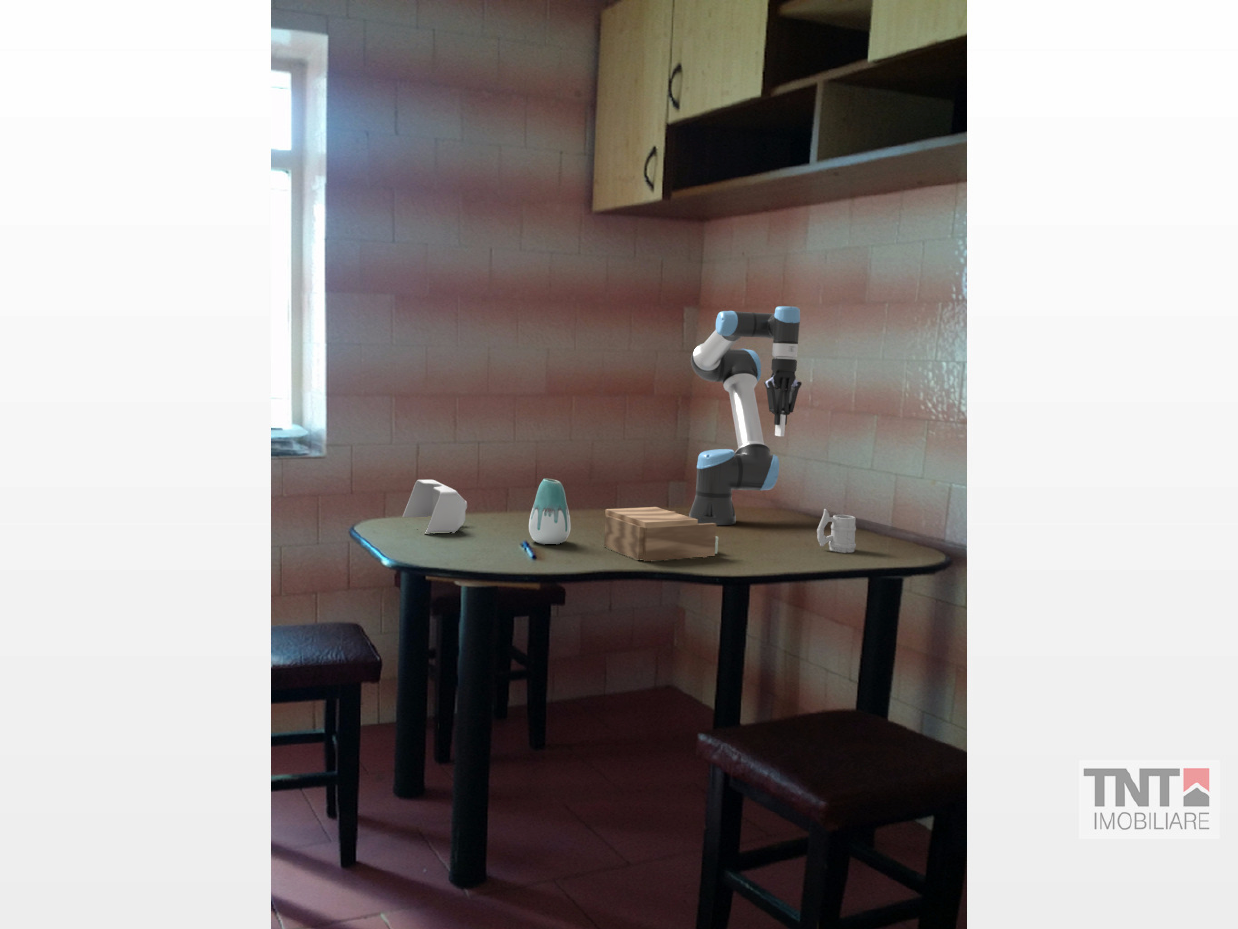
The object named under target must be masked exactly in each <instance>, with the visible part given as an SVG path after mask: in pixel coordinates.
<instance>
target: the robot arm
mask: <svg viewBox="0 0 1238 929" xmlns="http://www.w3.org/2000/svg"><path fill="white" fill-rule="evenodd" d="M800 323H801V310H800V308H799V307H798V306H785V305H784V306H776V308H775V310H774V313H773V312H772V313H771V312H769V313H768V312H747V311H735V310H723V311H720V312H718V314H717V317H716V319H715V330H714V331H713V332H712V333H711V335H710V336H708V338H707V339H706V340H705V341H704V343H701V344H698V345H697V346H696V347H695V349H694V350H693V352H692V353H691V357H690V365H691V367H692V370H693V371H694V373H695V375H697V376H699V378H700V379H702V380H705V381H708V382H712V383H713V382H715V383H717V382H718V383H722V384H723V385H722V386H723V389H724V390H725V391H726V392H728V395H729V401H730V406H731V413H732V418H733V423H734V430H735V436H736V443H737V449H736V450H735V451H734V449H730V448H729V449H728V448H724V449H723V448H720V449H718V448H715V449H710V450H704V451H702V452H700V453H699V455H698V457H697V463H696V464H697V465H696V482H695V483H696V486H695V497H694V500H693V503H692V504H691V505H692V506H691V508H690V510H689V513H688V517H691V518H694V519H698V524H704V523H715V524H717V525H716V526H729V525H734V524H736V521H737V519H736V518H737V516H736V511H735V508H734V504H733V501H732V499H733V498H732V496H733V495H732V494H733V491H759V492H761V491H769V490H772V489H773V488H774V487H775V485H776V484H777V481H778V478H779V473H780V459H779V456H777V455H776V454H771V449H770V447H769V445H767V444H765V442H764V437H763V430H762V425H761V419H760V415H759V414H760V413H759V409H758V404H757V398H756V392H755V388H756V386H757V385H758V382H759V381H760V380H761V375H762V370H761V369H762V363H761V358H760V357H759V355H758V354H757V352H756V351H755V350H753V349H746V348H732V347H733V346H734V345H735V343H737V342H738V340H739V339H740V338H742V337H744V338H745V337H746V338H767V339H772V340H773V341H772V350H771V351H772V353H771V356H772V357H773V358H772V359H771V372H772V373H771V375H770V378H769V379H768V380H764V381H763V384H764V386H765V389H766V395H767V405H768V411H769V412H770V413H772V414H773V415H774V419H773V424H774V426H775V427H774V429H775V430H774V436H777V437H785V429H786V425H787V423H788V416H789V415H790V414H792V413H793V412H794V409H795V406H796V401H797V398H798V394H799V390H800V388H801V386H802V382H801V381H799V380H798V379H796V378H797V377H796V371H797V365H798V364H797V363H798V360H797V359H796V358H797V357H798V353H799V352H798V348H799V335H800Z"/></svg>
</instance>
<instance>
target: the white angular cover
mask: <svg viewBox="0 0 1238 929" xmlns="http://www.w3.org/2000/svg"><path fill="white" fill-rule="evenodd" d="M467 508H468V503H467V500H465V499H464V498H463V496H461V495H460V494H459V493H458V491H457V490H456V489H453V488H452V487H450V486H447V485H445V484H443V483H441V482H439V481H437V480H436V479H435V480H434V479H417V480H416V482H415V483H414V486H413V488H412V491H411V494H410V497H409V499H408V502H407V505H406V507H405V509H404V512H403V514H402V517H414V518H415V517H428V516H432V517H431V520H430V522H429V525H428V528H427V530H426V532H425V533H431V532H456V531H458V530H459V529H460V528H462V526H463V524H464V523H465V521H466V510H467ZM456 533H457V532H456Z"/></svg>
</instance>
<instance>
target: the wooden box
mask: <svg viewBox="0 0 1238 929" xmlns="http://www.w3.org/2000/svg"><path fill="white" fill-rule="evenodd" d="M604 512H605V513H604V514H605V522H604V523H605V524H604V542H603V544H604V545H603V547H604V546H606V547H608V548H610V549H613V550H615V551H617V552H620V553H622V554H625V555H627V556H631V557H634V558H636V559H639V560H640V559H643V560H645V561H651V560H664V561H667V560H666V559H677V560H681V559H680V558H690V559H693V558H692V557H703V558H708V557H707V556H715V555H716V554H715V542H716V537H717V526H718V525H717V524H715V523H704V524H699V523H698V519H694V518H691V517H689V515H684V514H680V513H678V512H677V511H674V510H671V511H670V510H668V509H663V508H660V507H658V506H650V507H646V506H645V507H628V508H626V507H625V508H607V509H605V511H604ZM645 561H644V562H645ZM651 562H652V561H651Z"/></svg>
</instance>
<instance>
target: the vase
mask: <svg viewBox="0 0 1238 929" xmlns="http://www.w3.org/2000/svg"><path fill="white" fill-rule="evenodd" d="M534 499H535V500H534V502H533V506H532V508H531V512H530V516H529V520H528V532H529V534H530V537H531V539H532V540H533V541H534V542H536V543H538V544H540V545H545V544H556V545H561V544H563V543H564V542H565V541H566V540H568V537H569V536H570V532H571V516H570V512H569V507H568V504H567V499H566V492H565V489H564V486H563V483H562V482H561V481H559V480H556V479H553V478H543V479H542V481H541V482H540V484H539V486H538V489H537V491H536V495H535V498H534ZM560 543H561V544H560Z"/></svg>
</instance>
